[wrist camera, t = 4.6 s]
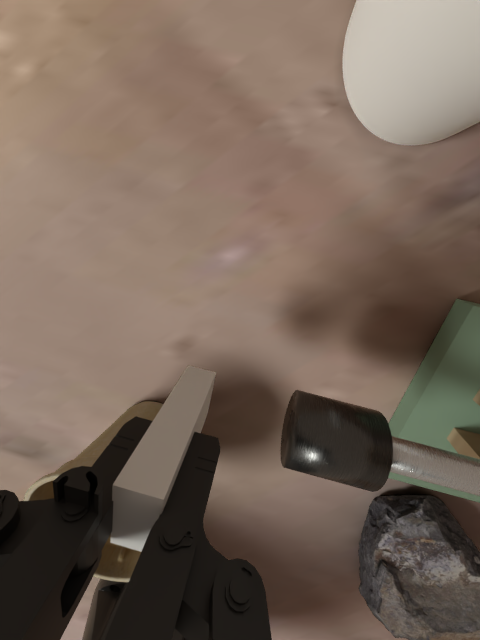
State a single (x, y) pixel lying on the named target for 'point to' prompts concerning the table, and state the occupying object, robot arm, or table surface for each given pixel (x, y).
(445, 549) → the rock
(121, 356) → the table surface
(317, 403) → the rod
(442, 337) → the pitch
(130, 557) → the flower pot
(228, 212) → the table surface
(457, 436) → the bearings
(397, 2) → the beverage can
